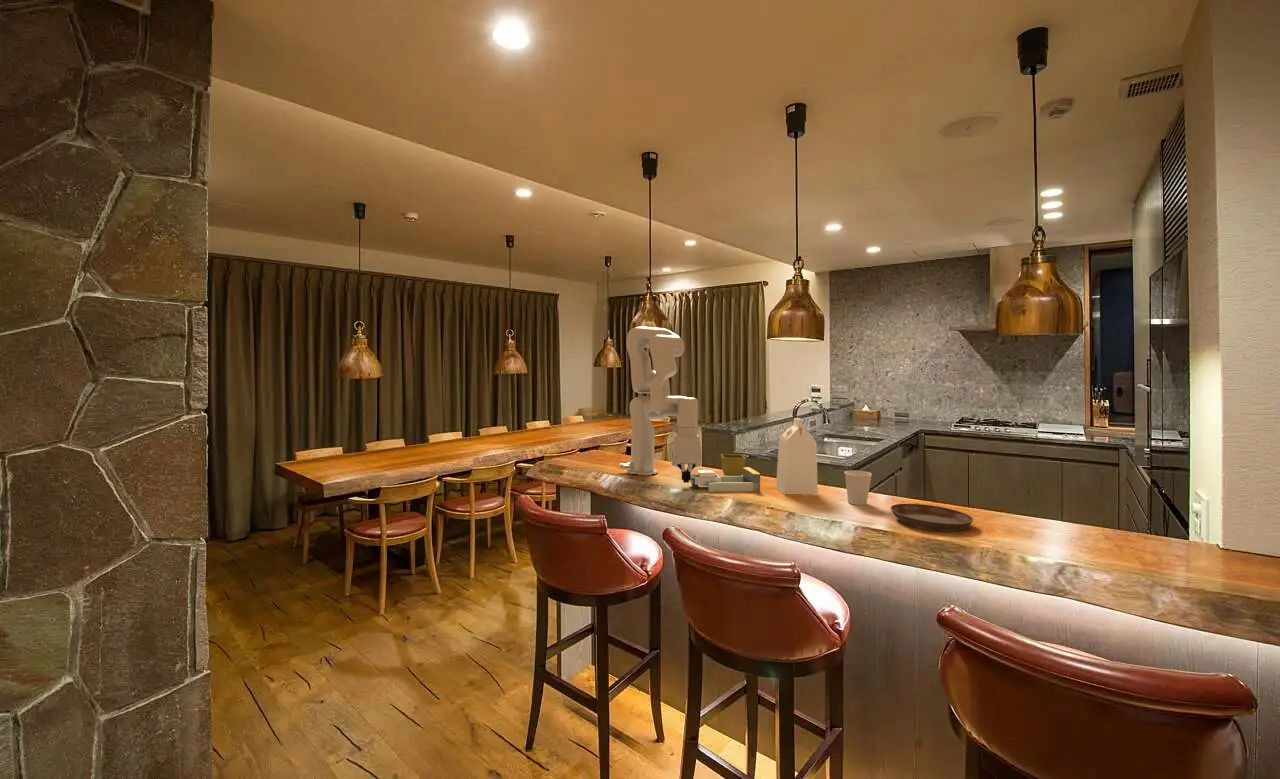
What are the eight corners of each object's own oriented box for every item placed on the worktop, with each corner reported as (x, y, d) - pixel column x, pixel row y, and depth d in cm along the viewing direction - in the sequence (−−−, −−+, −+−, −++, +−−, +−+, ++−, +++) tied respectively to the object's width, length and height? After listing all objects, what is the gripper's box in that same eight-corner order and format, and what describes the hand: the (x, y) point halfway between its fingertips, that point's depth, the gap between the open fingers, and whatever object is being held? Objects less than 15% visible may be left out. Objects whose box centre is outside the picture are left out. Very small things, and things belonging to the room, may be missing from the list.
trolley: (692, 489, 187) (692, 473, 187) (689, 485, 194) (689, 469, 194) (720, 489, 188) (721, 473, 188) (716, 485, 195) (716, 469, 195)
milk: (817, 495, 182) (819, 420, 182) (784, 494, 183) (786, 419, 182) (807, 488, 194) (809, 417, 194) (776, 487, 195) (777, 417, 194)
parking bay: (708, 492, 184) (709, 474, 184) (699, 483, 199) (700, 466, 199) (760, 492, 186) (761, 474, 185) (747, 483, 201) (748, 466, 201)
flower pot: (745, 480, 205) (746, 457, 205) (722, 480, 206) (723, 457, 205) (741, 476, 214) (742, 454, 214) (719, 476, 214) (720, 454, 214)
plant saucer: (979, 523, 151) (980, 512, 151) (964, 539, 135) (965, 526, 135) (902, 510, 164) (902, 499, 164) (880, 523, 149) (880, 511, 149)
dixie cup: (854, 506, 167) (855, 475, 166) (838, 500, 175) (839, 470, 175) (877, 505, 169) (878, 474, 169) (859, 499, 177) (860, 470, 177)
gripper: (667, 432, 186) (666, 484, 186) (709, 432, 187) (708, 484, 188) (665, 430, 193) (664, 480, 194) (705, 430, 195) (704, 480, 195)
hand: (685, 482), depth 191 cm, fingers closed
